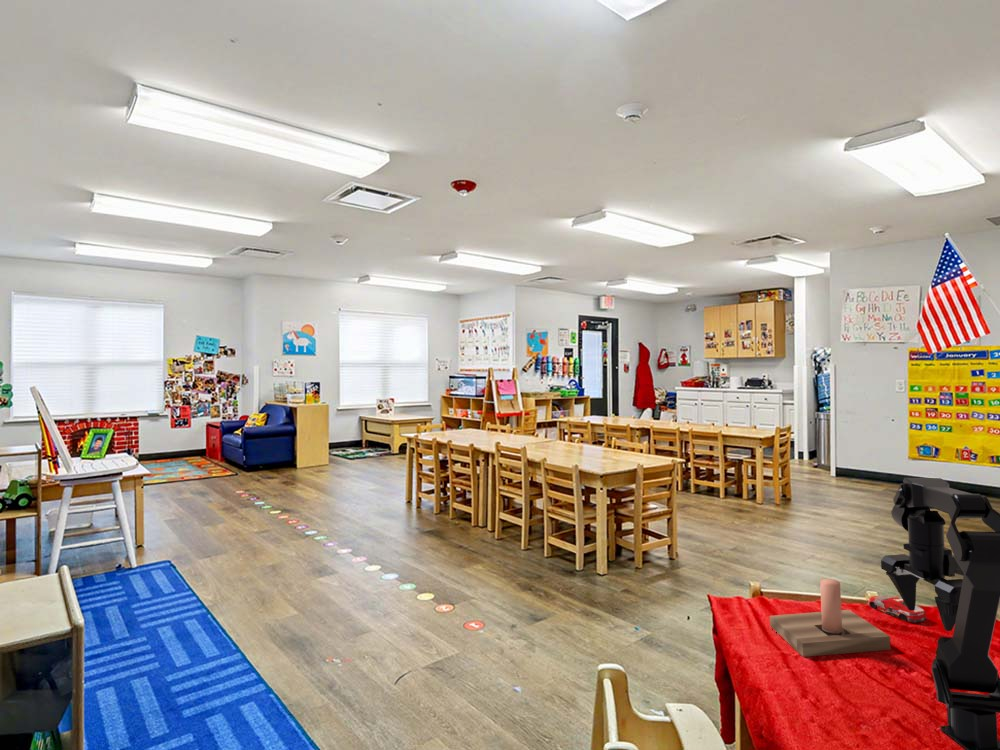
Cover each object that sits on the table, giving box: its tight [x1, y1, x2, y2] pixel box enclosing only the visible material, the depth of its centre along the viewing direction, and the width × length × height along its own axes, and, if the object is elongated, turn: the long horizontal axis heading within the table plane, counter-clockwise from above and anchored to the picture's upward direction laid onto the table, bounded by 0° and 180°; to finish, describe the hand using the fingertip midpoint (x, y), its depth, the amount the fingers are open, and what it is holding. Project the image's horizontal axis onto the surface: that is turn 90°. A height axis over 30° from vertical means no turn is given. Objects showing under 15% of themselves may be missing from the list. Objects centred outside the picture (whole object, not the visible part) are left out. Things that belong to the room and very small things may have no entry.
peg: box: [819, 578, 843, 636], centre depth 133 cm, size 4×4×14 cm
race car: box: [868, 595, 927, 624], centre depth 146 cm, size 13×5×4 cm, turn 19°
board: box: [769, 609, 891, 658], centre depth 136 cm, size 14×20×3 cm
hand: (929, 620), depth 115 cm, fingers open, 9 cm apart
